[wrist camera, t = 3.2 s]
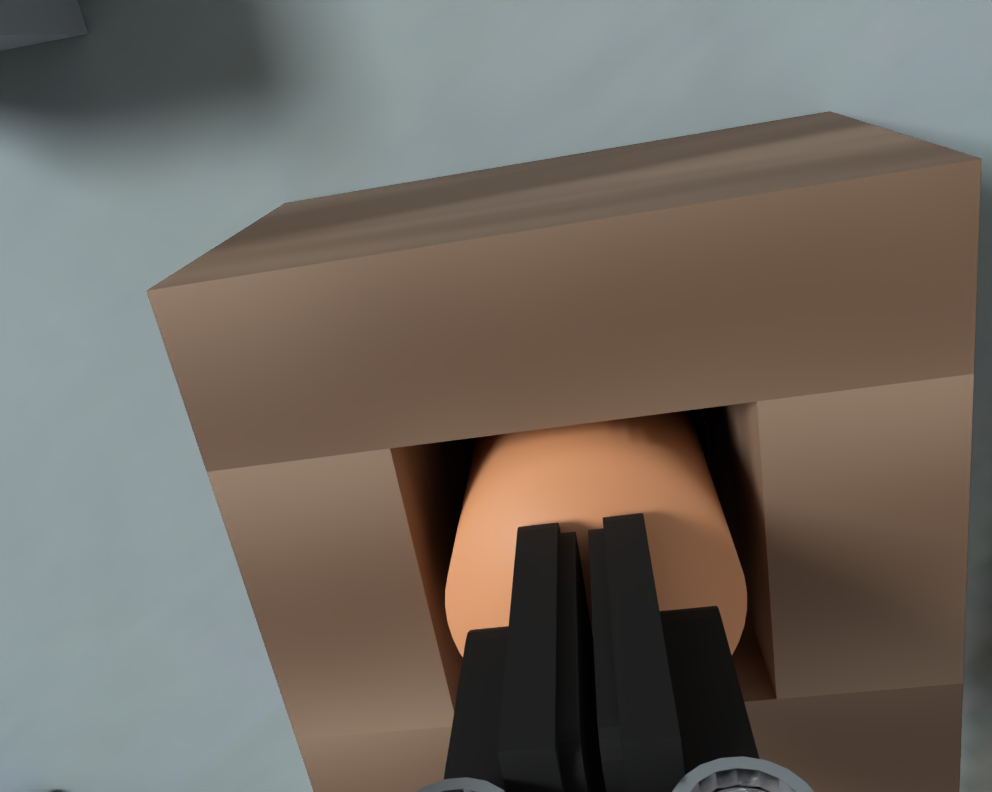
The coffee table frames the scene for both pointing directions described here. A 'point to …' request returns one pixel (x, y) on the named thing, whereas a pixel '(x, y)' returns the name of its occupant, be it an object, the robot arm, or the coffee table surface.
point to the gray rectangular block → (38, 22)
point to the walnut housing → (602, 397)
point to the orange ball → (595, 514)
